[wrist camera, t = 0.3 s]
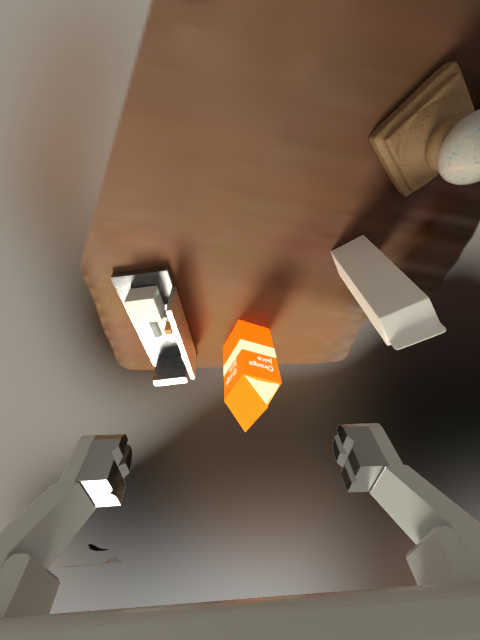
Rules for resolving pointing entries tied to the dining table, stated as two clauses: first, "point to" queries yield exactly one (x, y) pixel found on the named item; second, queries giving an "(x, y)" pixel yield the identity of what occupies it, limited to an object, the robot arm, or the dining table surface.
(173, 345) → the bench
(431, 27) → the dining table surface
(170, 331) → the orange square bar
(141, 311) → the white block
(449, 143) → the candle holder
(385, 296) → the milk
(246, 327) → the orange juice
